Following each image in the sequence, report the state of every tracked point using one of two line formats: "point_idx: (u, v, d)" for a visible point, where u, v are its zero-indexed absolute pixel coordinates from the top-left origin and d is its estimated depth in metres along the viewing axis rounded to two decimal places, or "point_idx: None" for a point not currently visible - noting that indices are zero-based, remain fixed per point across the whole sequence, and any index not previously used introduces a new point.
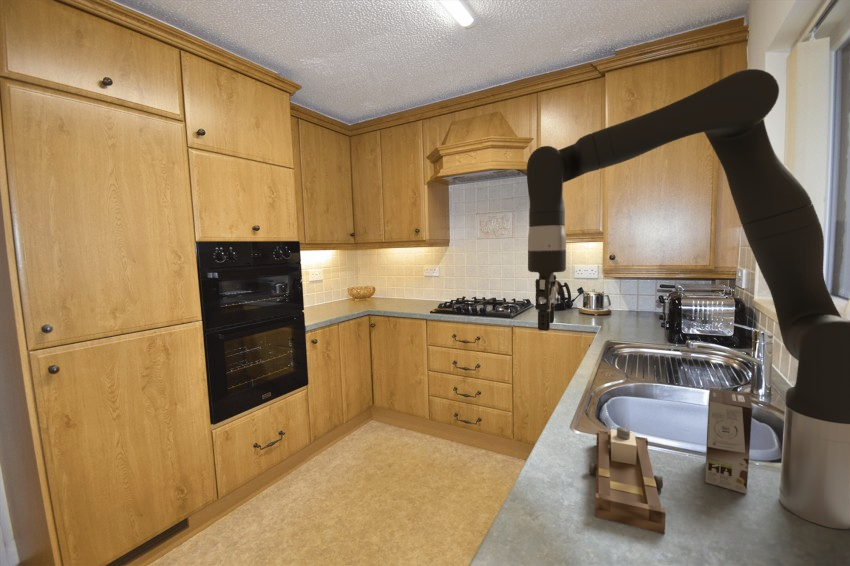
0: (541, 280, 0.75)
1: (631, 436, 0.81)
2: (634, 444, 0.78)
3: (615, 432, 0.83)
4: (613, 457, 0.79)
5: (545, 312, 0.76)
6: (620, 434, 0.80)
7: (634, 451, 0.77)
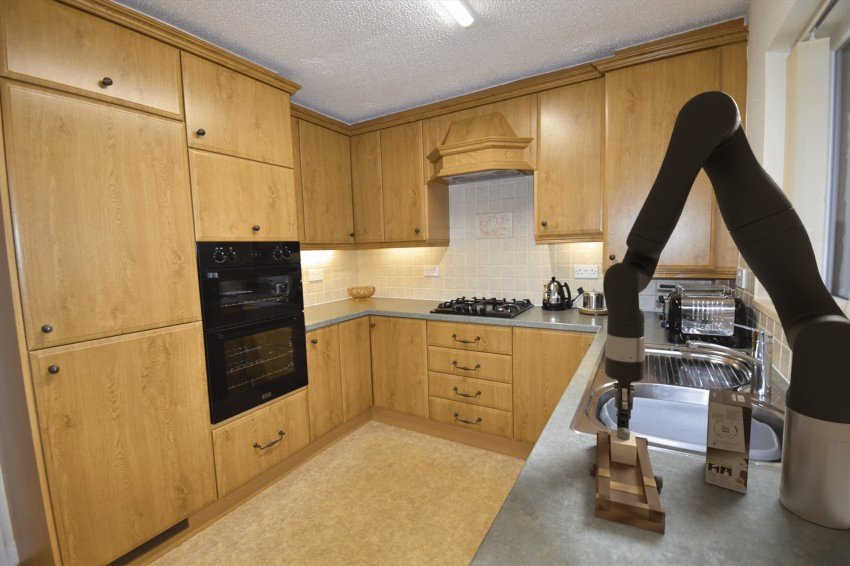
0: (624, 404, 0.78)
1: (631, 437, 0.81)
2: (634, 445, 0.77)
3: (615, 432, 0.83)
4: (613, 458, 0.79)
5: (625, 420, 0.83)
6: (620, 435, 0.80)
7: (634, 452, 0.77)
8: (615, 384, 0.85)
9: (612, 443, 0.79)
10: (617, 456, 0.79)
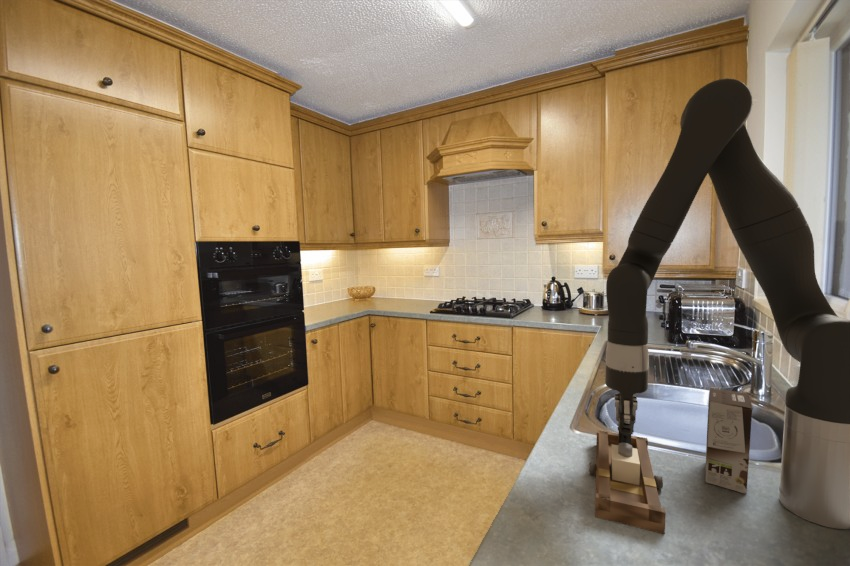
0: (626, 418, 0.72)
1: (634, 453, 0.74)
2: (637, 462, 0.71)
3: (616, 448, 0.76)
4: (614, 476, 0.73)
5: (627, 434, 0.76)
6: (622, 451, 0.73)
7: (637, 470, 0.71)
8: (616, 395, 0.79)
9: (613, 460, 0.72)
10: (619, 474, 0.72)
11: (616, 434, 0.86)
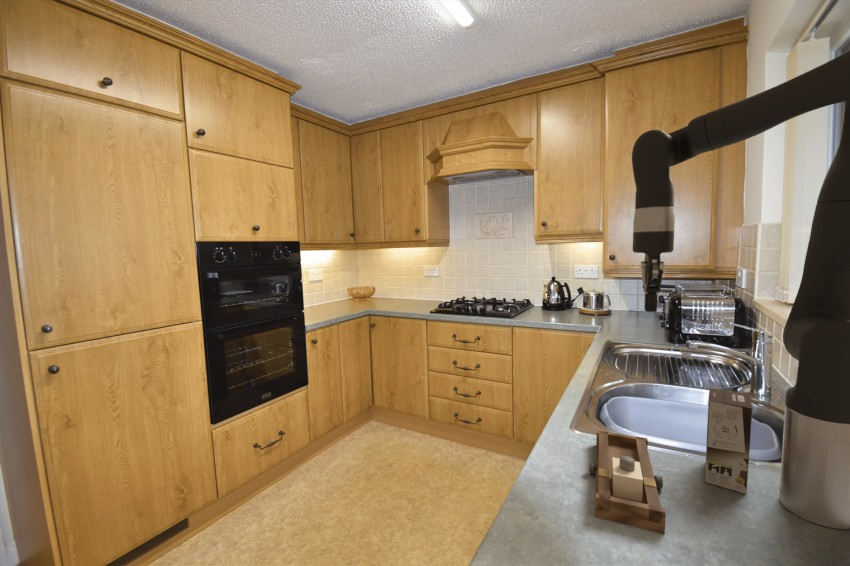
0: (654, 272, 0.78)
1: (636, 467, 0.70)
2: (640, 478, 0.66)
3: (617, 461, 0.71)
4: (615, 492, 0.68)
5: (654, 294, 0.82)
6: (623, 465, 0.69)
7: (640, 486, 0.66)
8: None
9: (614, 475, 0.68)
10: (620, 491, 0.67)
11: (616, 434, 0.86)
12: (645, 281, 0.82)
